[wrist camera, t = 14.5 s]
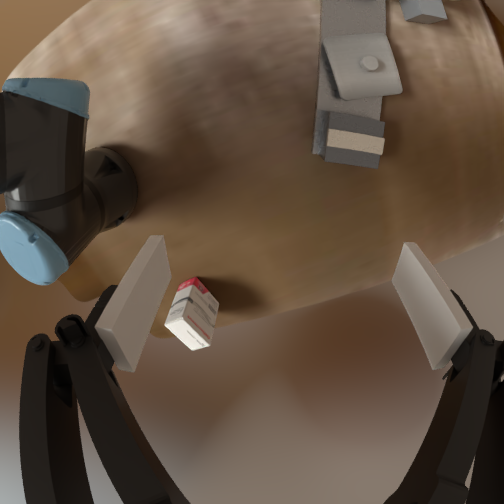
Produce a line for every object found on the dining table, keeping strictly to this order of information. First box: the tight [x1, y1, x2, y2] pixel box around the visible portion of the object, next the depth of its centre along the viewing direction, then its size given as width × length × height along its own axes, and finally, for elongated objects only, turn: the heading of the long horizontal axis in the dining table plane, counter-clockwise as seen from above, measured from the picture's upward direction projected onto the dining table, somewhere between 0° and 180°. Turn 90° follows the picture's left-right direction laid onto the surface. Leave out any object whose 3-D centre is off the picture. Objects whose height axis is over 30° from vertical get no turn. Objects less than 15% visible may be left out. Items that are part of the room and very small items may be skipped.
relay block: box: [399, 0, 447, 24], centre depth 21 cm, size 5×5×6 cm
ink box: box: [165, 277, 219, 350], centre depth 52 cm, size 8×5×12 cm, turn 31°
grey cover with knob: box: [323, 33, 403, 101], centre depth 28 cm, size 10×10×5 cm
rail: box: [311, 0, 386, 169], centre depth 28 cm, size 10×36×7 cm, turn 178°
